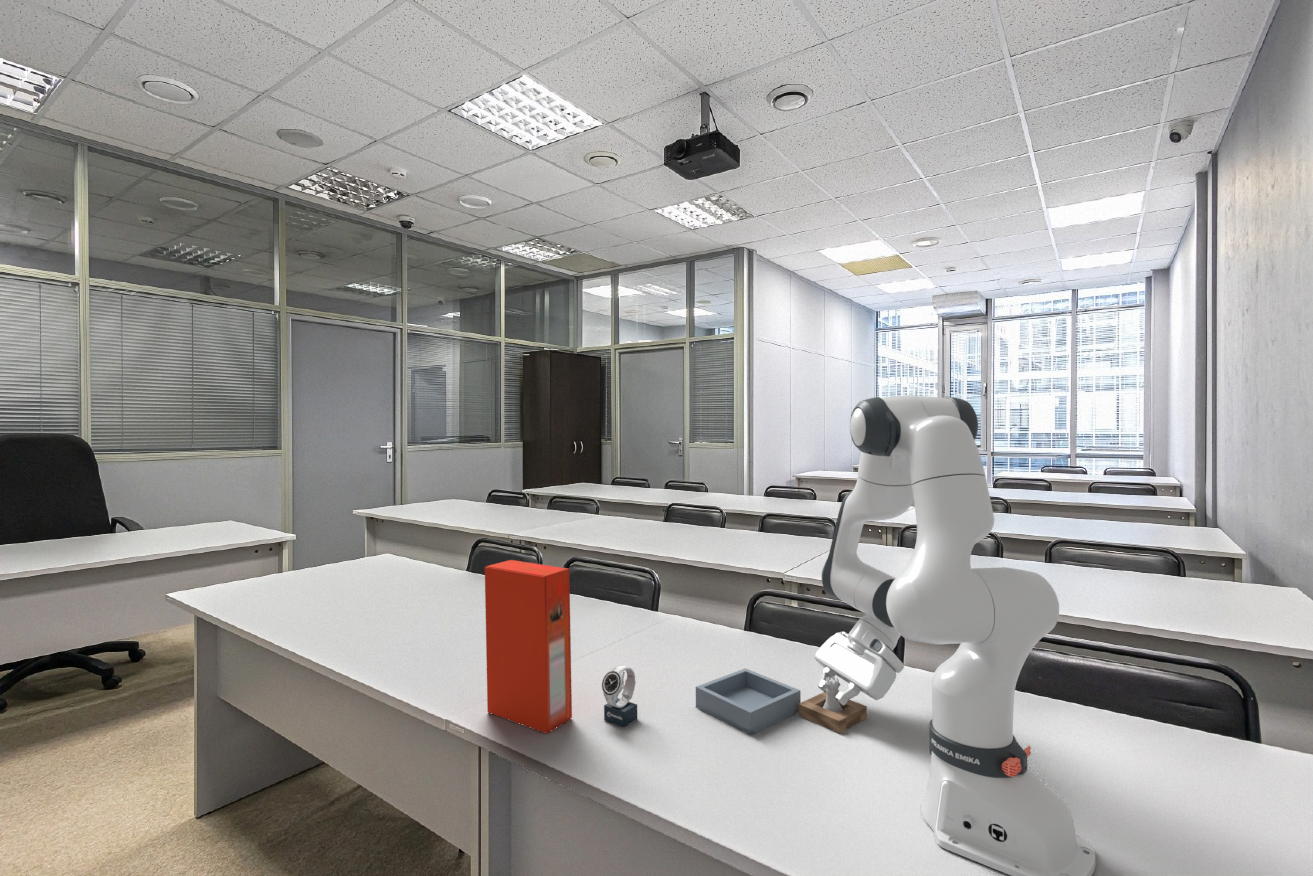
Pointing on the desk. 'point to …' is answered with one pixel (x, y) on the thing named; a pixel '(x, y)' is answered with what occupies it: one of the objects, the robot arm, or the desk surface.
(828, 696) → the rook chess piece
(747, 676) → the tray
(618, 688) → the watch
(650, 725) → the desk surface
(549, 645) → the file binder
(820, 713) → the socket block
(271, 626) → the desk surface
